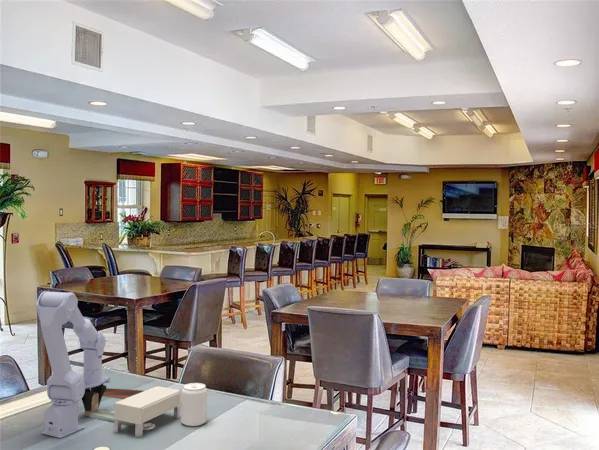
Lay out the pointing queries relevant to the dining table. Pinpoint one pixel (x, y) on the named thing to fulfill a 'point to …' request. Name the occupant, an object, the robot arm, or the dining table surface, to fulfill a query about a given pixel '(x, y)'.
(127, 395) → the wooden tablet
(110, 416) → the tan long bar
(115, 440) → the dining table surface
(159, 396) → the cream toy bench
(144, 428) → the steel token
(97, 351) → the robot arm
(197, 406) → the beverage can
